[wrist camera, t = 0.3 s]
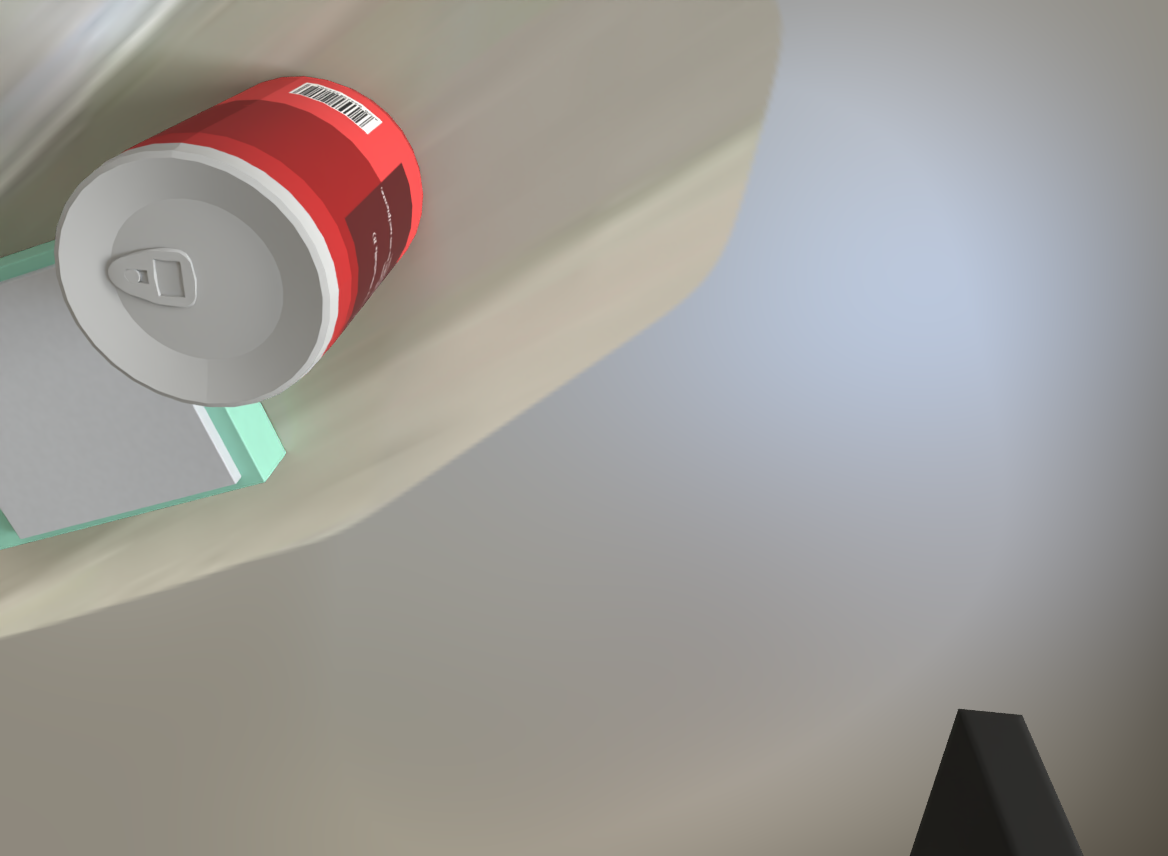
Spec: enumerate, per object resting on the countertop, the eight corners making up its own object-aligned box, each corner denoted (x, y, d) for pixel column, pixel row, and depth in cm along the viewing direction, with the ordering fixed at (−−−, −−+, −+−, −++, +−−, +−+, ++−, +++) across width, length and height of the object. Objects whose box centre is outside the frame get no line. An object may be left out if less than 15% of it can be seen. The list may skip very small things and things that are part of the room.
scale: (-125, 300, 45) (-178, 328, 42) (159, 204, 41) (120, 228, 39) (20, 522, 49) (-20, 561, 47) (287, 453, 46) (259, 490, 43)
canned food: (182, 97, 39) (1, 181, 30) (391, 46, 38) (272, 118, 28) (260, 297, 43) (120, 431, 33) (455, 258, 41) (368, 387, 31)
